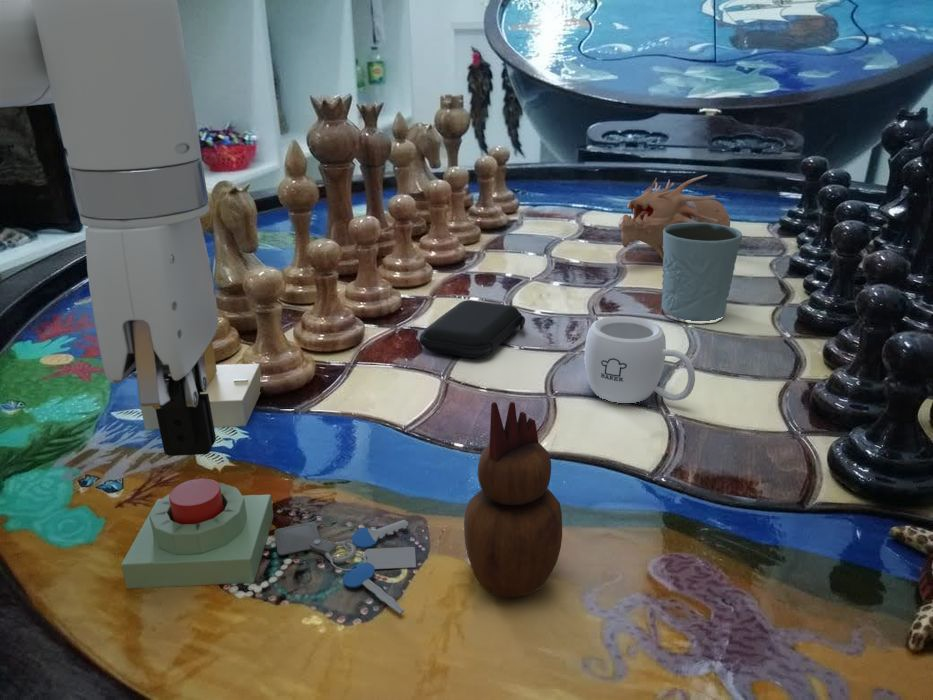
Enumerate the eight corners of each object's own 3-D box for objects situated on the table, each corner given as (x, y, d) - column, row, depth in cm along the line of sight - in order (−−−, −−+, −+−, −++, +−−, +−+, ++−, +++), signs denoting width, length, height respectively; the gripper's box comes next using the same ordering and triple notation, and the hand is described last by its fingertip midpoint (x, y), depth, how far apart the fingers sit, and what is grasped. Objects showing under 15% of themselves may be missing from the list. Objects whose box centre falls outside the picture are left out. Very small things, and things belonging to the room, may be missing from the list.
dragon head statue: (737, 175, 130) (696, 167, 110) (738, 260, 132) (698, 268, 112) (664, 183, 138) (613, 177, 117) (666, 263, 140) (616, 271, 119)
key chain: (257, 547, 56) (256, 538, 56) (331, 495, 63) (330, 487, 62) (400, 620, 49) (399, 611, 49) (468, 554, 55) (467, 545, 55)
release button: (166, 527, 53) (162, 507, 52) (180, 498, 56) (177, 479, 56) (216, 525, 53) (213, 505, 52) (228, 496, 56) (225, 477, 56)
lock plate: (144, 430, 73) (139, 402, 72) (172, 390, 82) (167, 364, 80) (246, 426, 74) (242, 398, 73) (263, 387, 82) (259, 361, 81)
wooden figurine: (478, 618, 49) (479, 423, 43) (455, 564, 54) (453, 382, 49) (571, 598, 51) (584, 407, 45) (540, 547, 56) (548, 370, 50)
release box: (126, 589, 52) (115, 543, 51) (161, 521, 60) (153, 479, 58) (254, 583, 53) (247, 538, 51) (273, 516, 60) (268, 475, 58)
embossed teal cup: (733, 308, 106) (745, 226, 101) (724, 331, 97) (737, 243, 92) (662, 298, 109) (671, 219, 105) (648, 320, 101) (656, 235, 96)
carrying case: (493, 367, 87) (533, 326, 99) (493, 343, 86) (534, 304, 98) (413, 353, 91) (462, 315, 103) (413, 330, 90) (462, 294, 102)
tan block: (204, 392, 74) (196, 344, 72) (188, 392, 74) (180, 345, 72) (217, 371, 79) (210, 326, 77) (202, 371, 79) (194, 326, 77)
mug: (568, 399, 79) (572, 331, 76) (601, 371, 86) (605, 308, 83) (677, 428, 73) (686, 356, 70) (703, 396, 80) (712, 329, 77)
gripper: (125, 173, 52) (170, 404, 59) (20, 221, 38) (95, 514, 45) (232, 170, 52) (264, 400, 60) (166, 216, 39) (218, 507, 46)
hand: (191, 448), depth 52 cm, fingers closed
